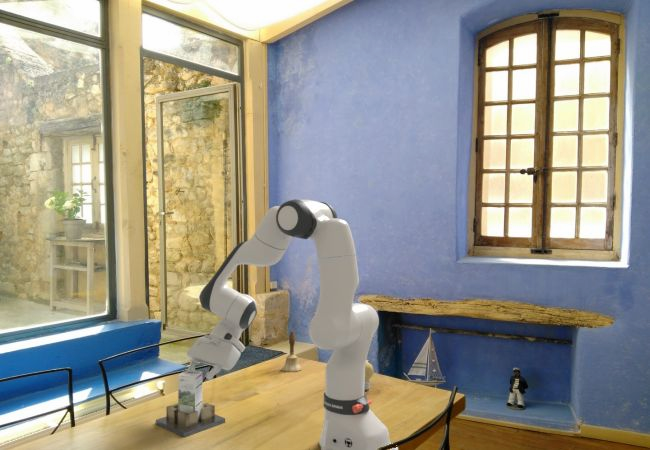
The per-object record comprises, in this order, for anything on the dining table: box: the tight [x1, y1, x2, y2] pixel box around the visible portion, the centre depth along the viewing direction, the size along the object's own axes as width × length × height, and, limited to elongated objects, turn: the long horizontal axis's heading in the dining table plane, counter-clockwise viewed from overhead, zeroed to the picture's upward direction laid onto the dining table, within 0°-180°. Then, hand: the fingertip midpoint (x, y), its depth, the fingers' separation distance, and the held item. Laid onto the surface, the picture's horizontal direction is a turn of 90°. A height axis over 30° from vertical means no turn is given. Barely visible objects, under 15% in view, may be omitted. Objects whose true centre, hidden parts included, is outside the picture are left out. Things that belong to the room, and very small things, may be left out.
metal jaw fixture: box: [155, 400, 226, 438], centre depth 164 cm, size 15×15×5 cm
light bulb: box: [364, 361, 375, 391], centre depth 197 cm, size 6×6×10 cm
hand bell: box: [281, 330, 303, 373], centre depth 222 cm, size 8×8×16 cm
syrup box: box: [177, 370, 203, 420], centre depth 164 cm, size 6×6×14 cm
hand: (198, 375), depth 166 cm, fingers open, 8 cm apart
